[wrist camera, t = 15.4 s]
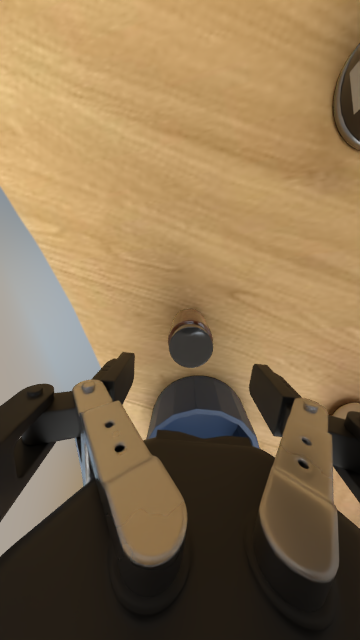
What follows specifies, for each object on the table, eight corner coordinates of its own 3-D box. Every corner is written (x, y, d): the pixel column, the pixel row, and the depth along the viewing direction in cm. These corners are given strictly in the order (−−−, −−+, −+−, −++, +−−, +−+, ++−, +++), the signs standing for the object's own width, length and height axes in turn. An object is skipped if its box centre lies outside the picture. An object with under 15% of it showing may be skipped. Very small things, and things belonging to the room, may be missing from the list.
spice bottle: (173, 307, 23) (168, 322, 16) (207, 310, 23) (218, 326, 16) (171, 339, 24) (165, 367, 17) (203, 342, 24) (212, 372, 17)
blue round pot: (156, 371, 25) (147, 404, 19) (249, 380, 25) (270, 415, 19) (151, 446, 28) (142, 496, 22) (234, 454, 28) (249, 506, 22)
